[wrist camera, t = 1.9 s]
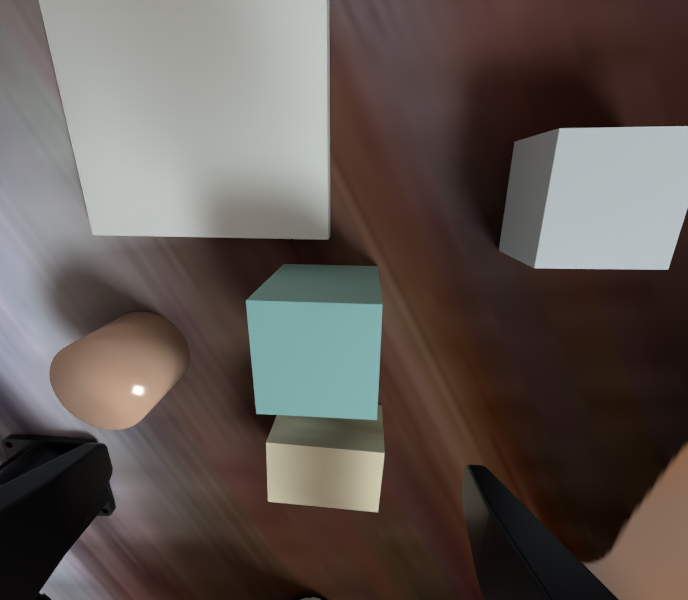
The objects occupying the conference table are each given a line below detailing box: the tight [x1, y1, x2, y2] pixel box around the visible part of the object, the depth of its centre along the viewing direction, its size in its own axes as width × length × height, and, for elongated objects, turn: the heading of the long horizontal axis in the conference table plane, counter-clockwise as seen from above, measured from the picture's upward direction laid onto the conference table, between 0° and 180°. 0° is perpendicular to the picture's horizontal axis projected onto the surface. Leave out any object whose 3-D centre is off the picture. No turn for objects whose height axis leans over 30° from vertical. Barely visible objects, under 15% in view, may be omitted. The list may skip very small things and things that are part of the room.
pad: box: [39, 0, 330, 240], centre depth 15 cm, size 12×12×1 cm
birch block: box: [266, 405, 385, 512], centre depth 20 cm, size 6×4×4 cm, turn 87°
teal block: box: [246, 264, 382, 420], centre depth 16 cm, size 5×5×6 cm
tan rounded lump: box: [50, 311, 190, 430], centre depth 18 cm, size 5×5×4 cm
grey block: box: [499, 126, 688, 270], centre depth 14 cm, size 5×5×4 cm
